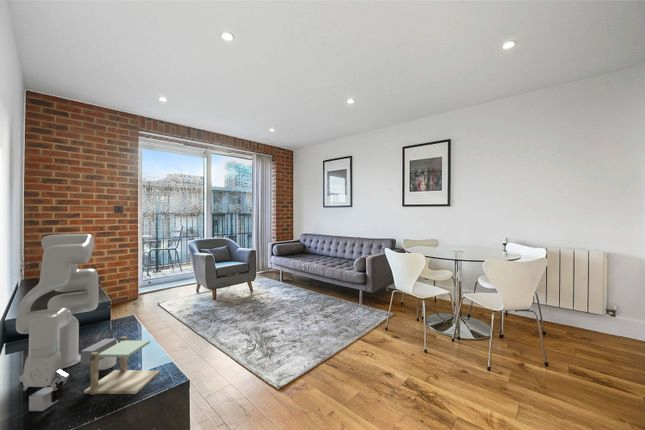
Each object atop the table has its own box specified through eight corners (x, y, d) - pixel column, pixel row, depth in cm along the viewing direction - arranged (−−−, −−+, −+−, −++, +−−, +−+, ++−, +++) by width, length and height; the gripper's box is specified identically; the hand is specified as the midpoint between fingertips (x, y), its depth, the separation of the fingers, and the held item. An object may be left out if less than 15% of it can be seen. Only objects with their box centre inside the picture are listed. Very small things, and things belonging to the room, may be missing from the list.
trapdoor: (79, 364, 102) (79, 351, 102) (106, 349, 114) (106, 338, 114) (128, 365, 101) (128, 351, 101) (149, 350, 113) (150, 338, 113)
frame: (80, 395, 99) (81, 354, 100) (117, 370, 116) (117, 335, 116) (132, 396, 98) (132, 355, 99) (162, 371, 115) (162, 335, 116)
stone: (28, 411, 92) (29, 396, 92) (44, 401, 97) (44, 387, 97) (42, 411, 91) (43, 396, 92) (57, 401, 96) (58, 387, 96)
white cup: (121, 363, 122) (122, 341, 123) (102, 372, 115) (103, 348, 115) (110, 360, 125) (110, 338, 125) (90, 369, 118) (91, 346, 118)
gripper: (8, 355, 91) (7, 407, 90) (56, 355, 90) (55, 407, 90) (33, 345, 99) (32, 393, 98) (78, 345, 98) (77, 393, 97)
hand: (43, 399), depth 94 cm, fingers open, 9 cm apart
